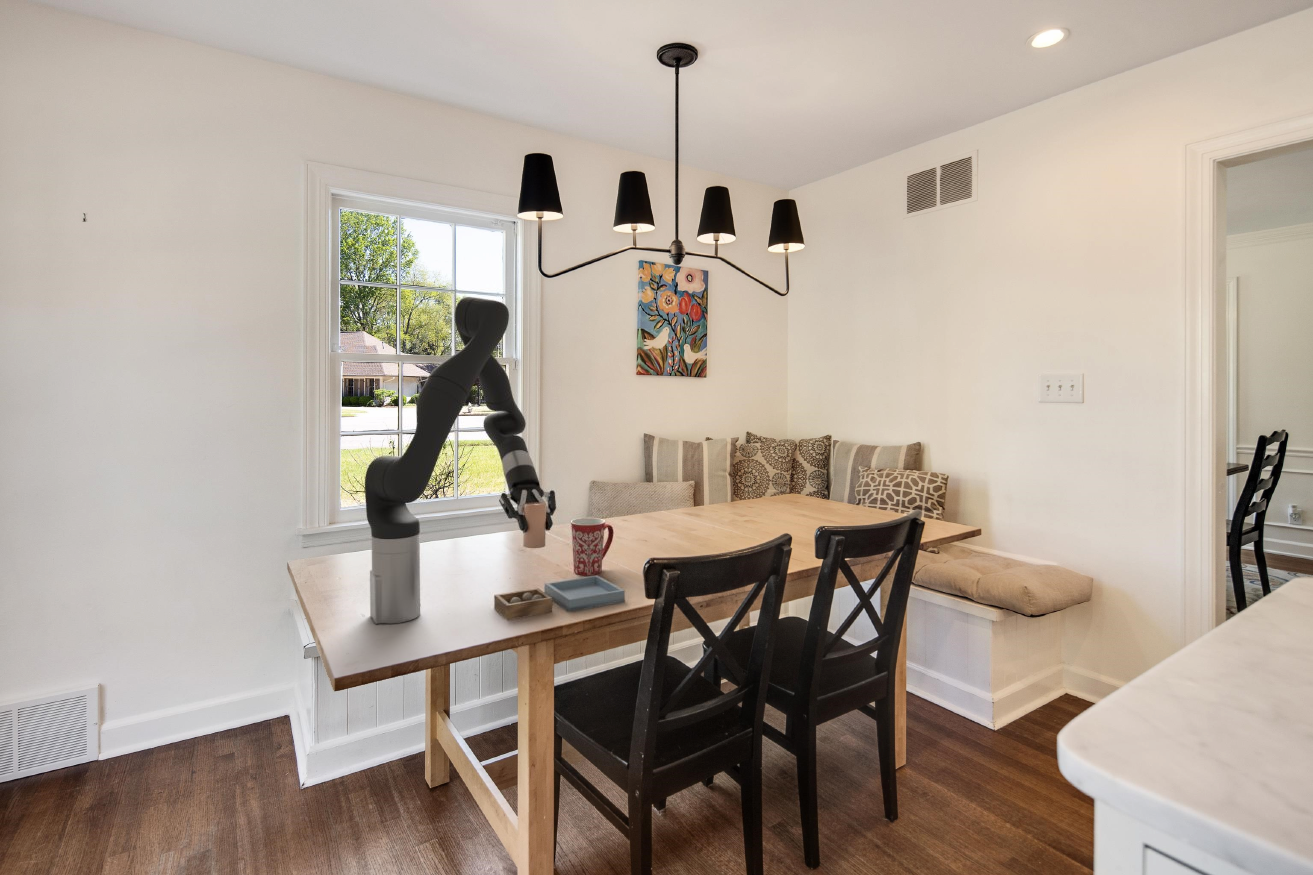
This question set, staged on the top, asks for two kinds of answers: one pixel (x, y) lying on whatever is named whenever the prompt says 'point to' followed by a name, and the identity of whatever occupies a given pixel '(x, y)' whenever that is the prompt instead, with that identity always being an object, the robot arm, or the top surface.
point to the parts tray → (522, 603)
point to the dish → (584, 593)
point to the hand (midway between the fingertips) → (537, 529)
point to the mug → (589, 544)
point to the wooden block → (535, 525)
